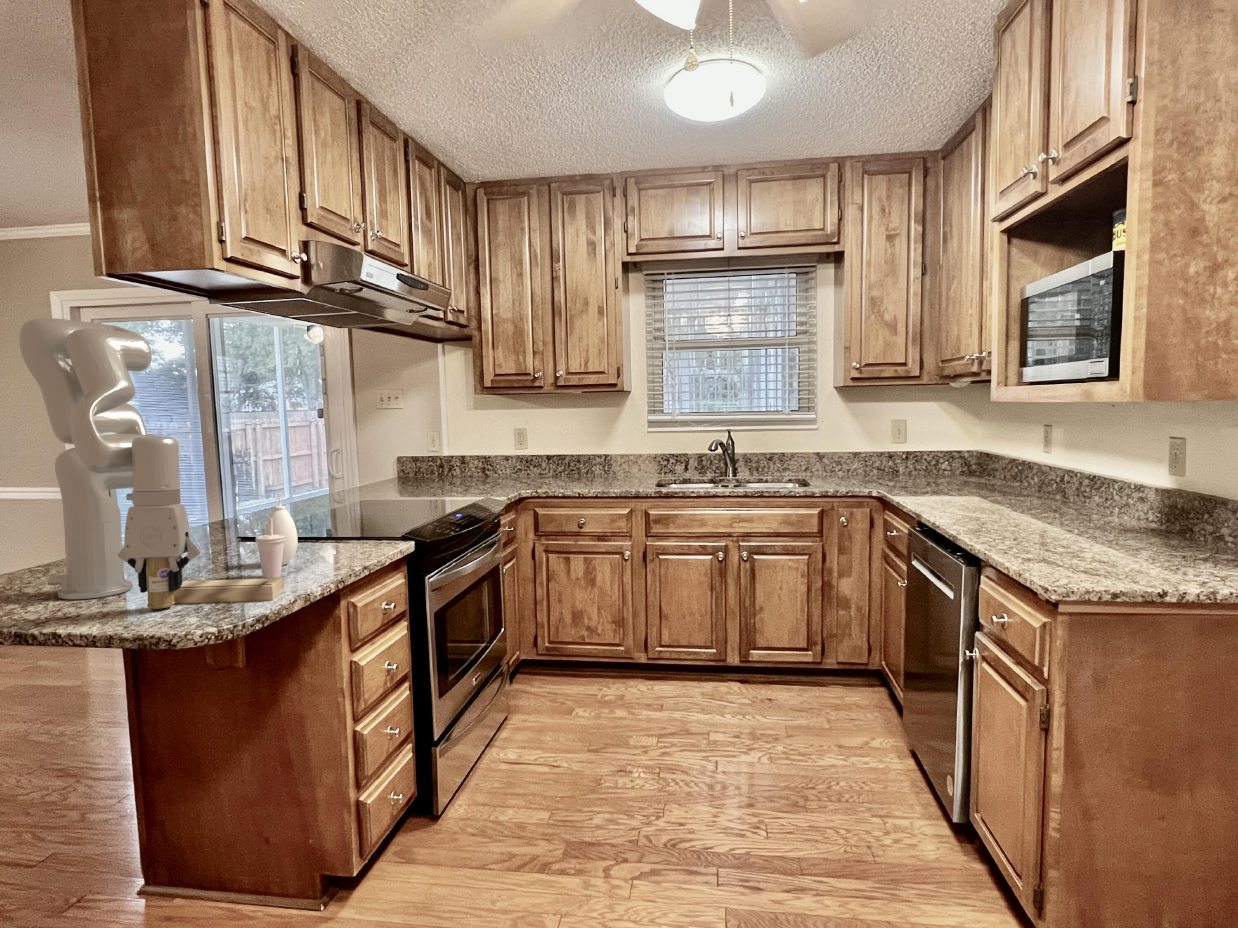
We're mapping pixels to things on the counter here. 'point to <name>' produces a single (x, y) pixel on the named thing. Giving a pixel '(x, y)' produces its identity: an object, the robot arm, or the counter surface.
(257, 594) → the maple board
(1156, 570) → the counter surface
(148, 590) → the sprinkles bottle
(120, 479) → the robot arm
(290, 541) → the sauce bottle
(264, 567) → the smoothie
